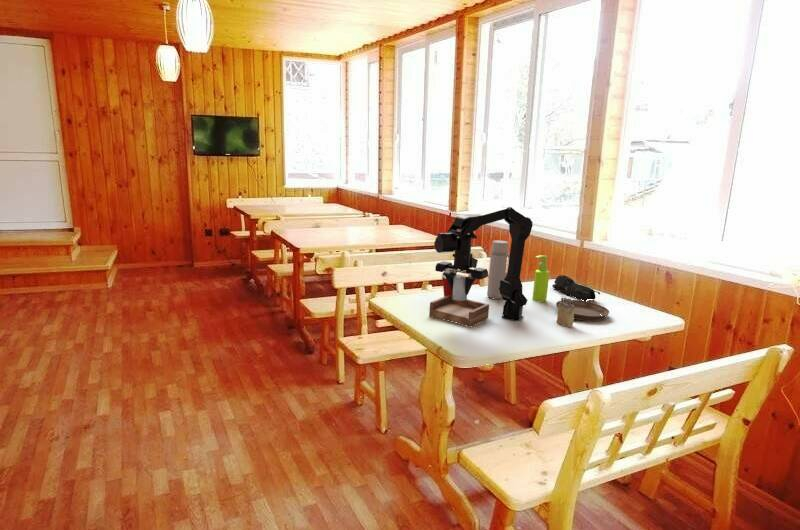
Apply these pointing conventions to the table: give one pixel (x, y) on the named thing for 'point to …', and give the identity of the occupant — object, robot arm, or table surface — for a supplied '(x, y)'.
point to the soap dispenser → (541, 280)
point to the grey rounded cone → (459, 288)
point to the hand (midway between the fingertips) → (459, 293)
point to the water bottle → (497, 267)
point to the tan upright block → (565, 312)
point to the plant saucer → (587, 310)
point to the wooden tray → (459, 310)
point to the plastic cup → (447, 286)
